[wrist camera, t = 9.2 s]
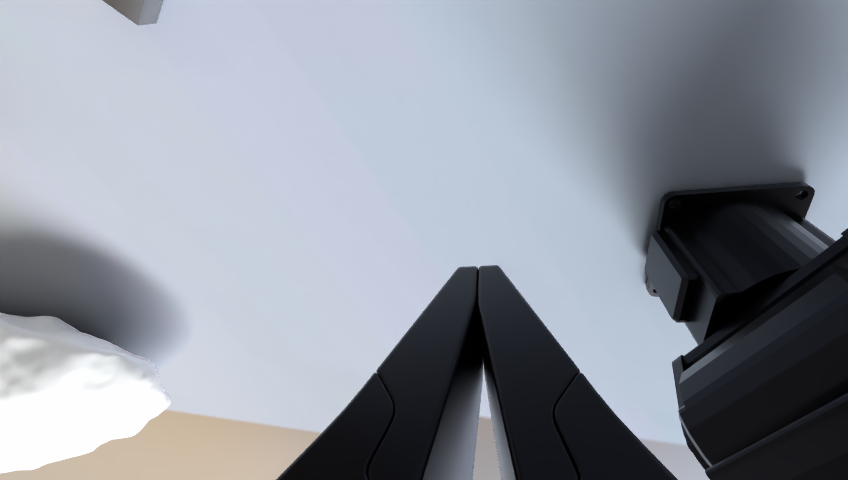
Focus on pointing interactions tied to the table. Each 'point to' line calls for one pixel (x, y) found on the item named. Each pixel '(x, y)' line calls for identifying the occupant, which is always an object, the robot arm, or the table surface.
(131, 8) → the oak floor board
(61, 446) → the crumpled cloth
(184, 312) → the table surface
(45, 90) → the table surface
